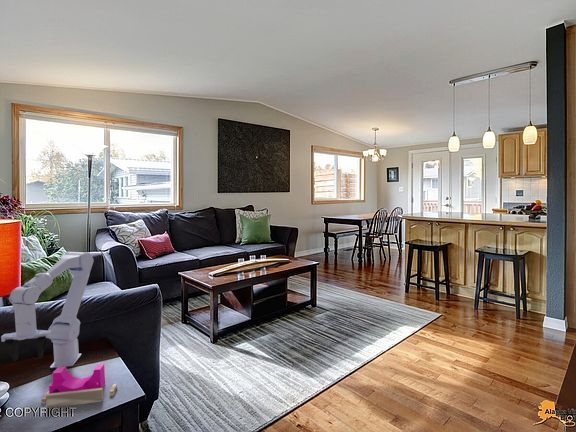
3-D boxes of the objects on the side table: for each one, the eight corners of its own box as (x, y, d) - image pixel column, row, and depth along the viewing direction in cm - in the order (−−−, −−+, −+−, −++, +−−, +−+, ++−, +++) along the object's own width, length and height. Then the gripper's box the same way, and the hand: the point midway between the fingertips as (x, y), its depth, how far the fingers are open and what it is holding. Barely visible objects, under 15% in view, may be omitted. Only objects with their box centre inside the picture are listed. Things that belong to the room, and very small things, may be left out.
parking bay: (47, 395, 115) (47, 384, 115) (117, 387, 120) (116, 376, 119) (37, 409, 108) (36, 397, 108) (111, 400, 113) (110, 388, 112)
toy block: (49, 398, 114) (48, 377, 113) (59, 387, 120) (57, 367, 119) (98, 394, 116) (97, 373, 115) (105, 384, 122) (104, 363, 122)
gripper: (-6, 327, 114) (-3, 366, 116) (43, 323, 117) (46, 361, 119) (6, 319, 121) (9, 356, 122) (53, 316, 124) (55, 352, 126)
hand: (28, 358), depth 121 cm, fingers open, 7 cm apart
